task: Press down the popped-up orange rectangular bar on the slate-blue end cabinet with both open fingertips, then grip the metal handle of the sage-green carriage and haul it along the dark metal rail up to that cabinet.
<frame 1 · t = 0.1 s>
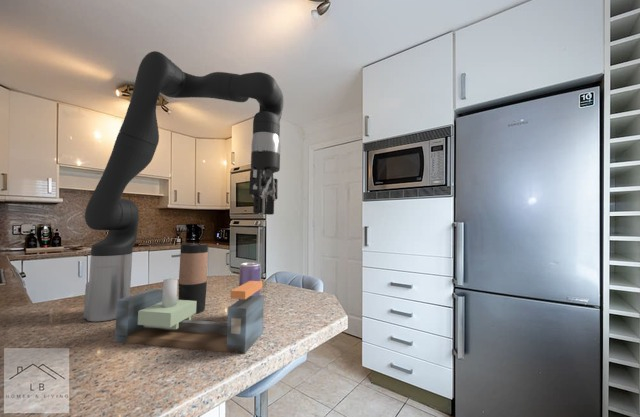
hand: (264, 214, 67), 29 cm above the countertop, fingers open, 8 cm apart
orange rectangular bar: (247, 289, 58), point 12 cm above the countertop, slide at 0.0 cm
beverage can: (249, 318, 72), on the countertop
rail base: (191, 336, 59), on the countertop
travel mug: (191, 311, 77), on the countertop
carriage: (169, 301, 61), point 8 cm above the countertop, slide at 0.0 cm
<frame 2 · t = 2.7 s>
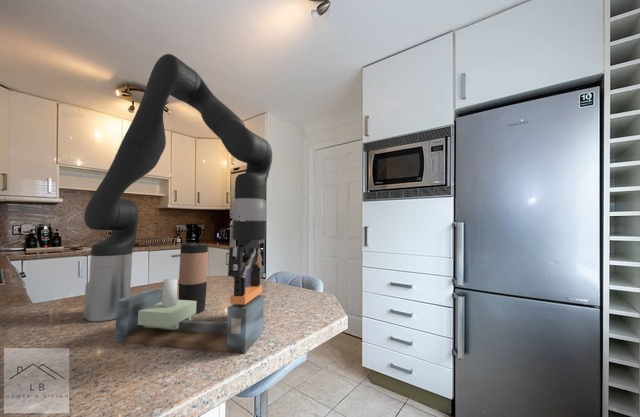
hand: (247, 290, 58), 11 cm above the countertop, fingers open, 8 cm apart
orange rectangular bar: (247, 294, 58), point 11 cm above the countertop, slide at 1.1 cm, touching gripper
everything else where it was.
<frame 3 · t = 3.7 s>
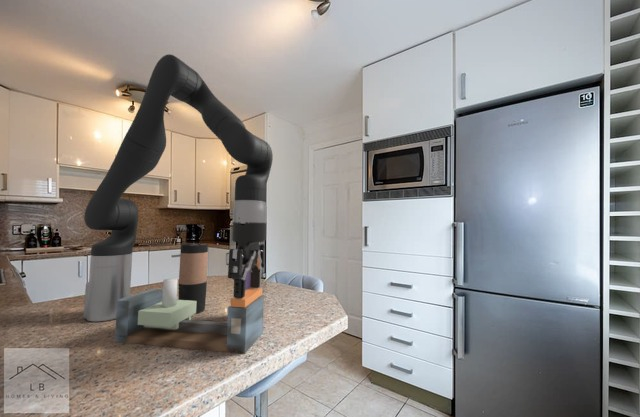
hand: (247, 292, 58), 11 cm above the countertop, fingers open, 8 cm apart
orange rectangular bar: (247, 296, 58), point 10 cm above the countertop, slide at 1.7 cm
everything else where it was.
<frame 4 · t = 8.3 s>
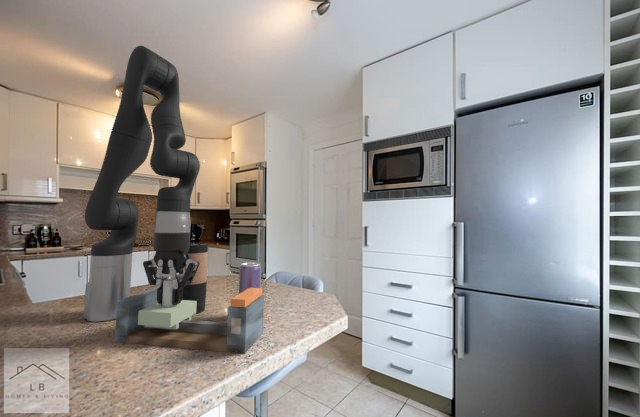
hand: (169, 303, 61), 7 cm above the countertop, fingers closed on carriage, 3 cm apart
carriage: (169, 301, 61), point 8 cm above the countertop, slide at 0.0 cm, touching gripper
everything else where it was.
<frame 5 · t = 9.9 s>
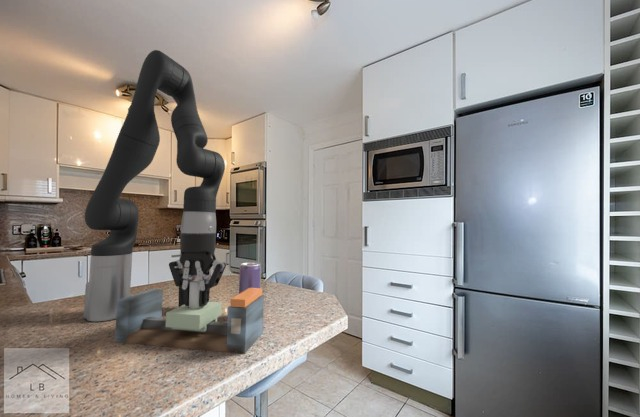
hand: (195, 305, 60), 7 cm above the countertop, fingers closed on carriage, 3 cm apart
carriage: (196, 303, 60), point 8 cm above the countertop, slide at 6.9 cm, touching gripper
everything else where it was.
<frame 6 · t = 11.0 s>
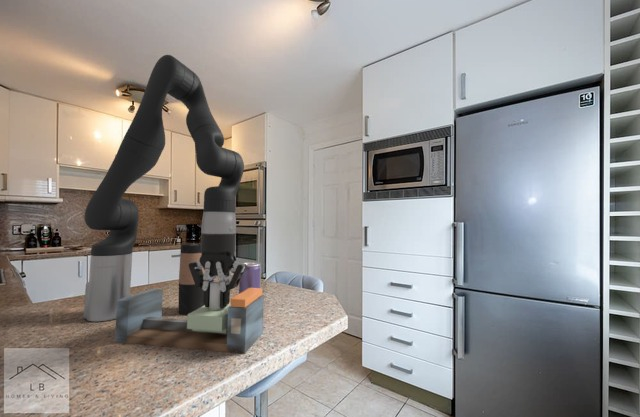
hand: (216, 306, 59), 7 cm above the countertop, fingers closed on carriage, 3 cm apart
carriage: (216, 304, 59), point 8 cm above the countertop, slide at 12.0 cm, touching gripper
everything else where it was.
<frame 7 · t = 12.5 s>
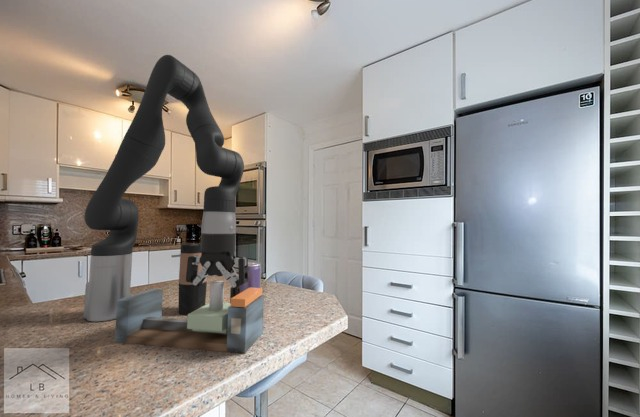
hand: (216, 302, 59), 8 cm above the countertop, fingers open, 8 cm apart
orange rectangular bar: (247, 296, 58), point 10 cm above the countertop, slide at 1.6 cm, touching gripper
carriage: (216, 304, 59), point 8 cm above the countertop, slide at 12.0 cm
everything else where it was.
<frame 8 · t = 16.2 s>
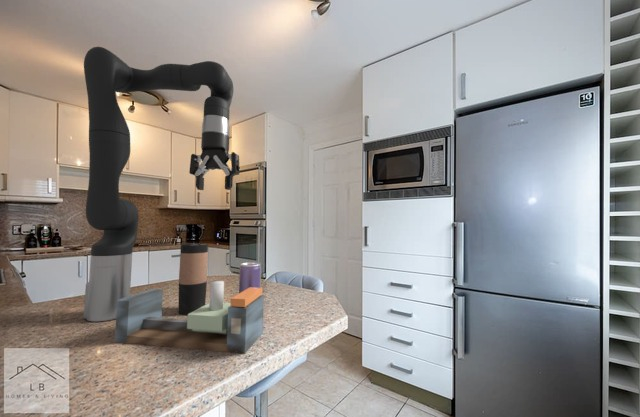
hand: (213, 189, 74), 36 cm above the countertop, fingers open, 8 cm apart
orange rectangular bar: (247, 296, 58), point 10 cm above the countertop, slide at 1.6 cm
everything else where it was.
at the end: carriage slide at 12.0 cm; orange rectangular bar slide at 1.6 cm; the gripper is holding nothing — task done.
